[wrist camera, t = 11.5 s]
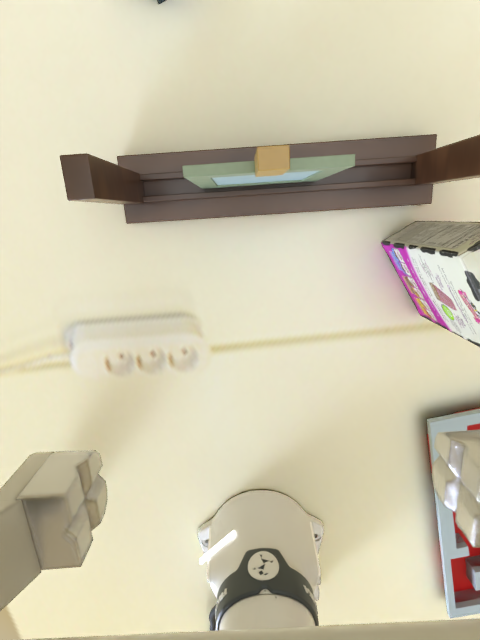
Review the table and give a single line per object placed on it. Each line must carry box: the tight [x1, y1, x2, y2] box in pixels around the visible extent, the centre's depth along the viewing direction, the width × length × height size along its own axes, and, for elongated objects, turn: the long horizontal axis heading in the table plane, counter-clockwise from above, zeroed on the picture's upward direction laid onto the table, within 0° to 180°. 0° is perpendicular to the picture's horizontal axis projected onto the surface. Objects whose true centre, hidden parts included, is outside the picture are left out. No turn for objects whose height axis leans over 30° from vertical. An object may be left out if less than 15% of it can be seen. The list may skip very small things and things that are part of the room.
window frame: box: [60, 134, 480, 224], centre depth 34 cm, size 7×34×17 cm, turn 94°
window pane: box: [182, 145, 355, 189], centre depth 31 cm, size 1×12×18 cm, turn 94°
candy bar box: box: [381, 221, 480, 347], centre depth 37 cm, size 11×5×16 cm, turn 34°
